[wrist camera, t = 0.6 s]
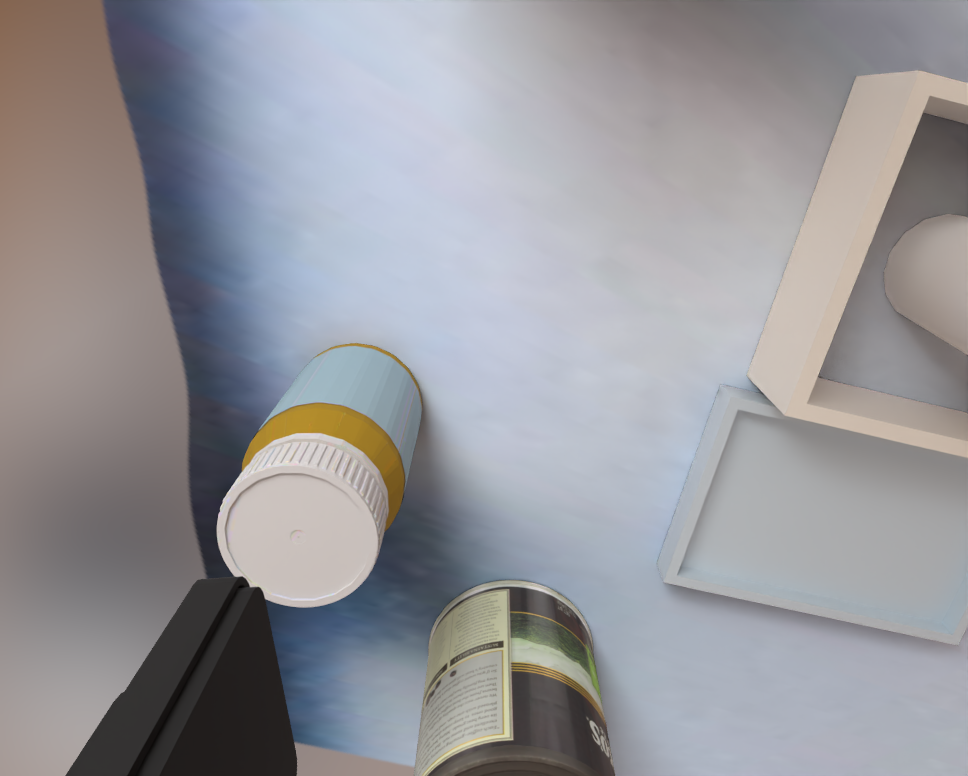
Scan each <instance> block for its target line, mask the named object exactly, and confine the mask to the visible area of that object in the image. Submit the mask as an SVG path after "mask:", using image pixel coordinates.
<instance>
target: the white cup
mask: <svg viewBox="0 0 968 776" xmlns="http://www.w3.org/2000/svg"><path fill="white" fill-rule="evenodd" d="M884 284H885V294H886V296H887V297H888V299H889V301H890V302H891V304H892V306H893V307H894V309H895V311H897V312H898V313H900V314H902V315H903V316H905V317H906V318H908V319H909V320H911V321H912V322H914V323H916V324H918V325H919V326H921V327H922V328H924V329H926V330H927V331H929V332H931V333H932V334H934V335H935V336H937V337H939V338H940V339H942V340H944V341H945V342H947V343H948V344H950V345H952V346H953V347H955V348H957V349H958V350H960V351H961V352H963V353H965V354H966V355H968V217H966V216H959V215H953V214H945V215H940V216H936V217H932V218H928V219H925V220H923V221H922V222H920V223H919V224H917V225H916V226H914V227H913V228H911V229H910V230H908V231H907V232H905V233H904V234H903V236H902V237H901V238H900V240H899V241H898V242H897V243H896V245H895V246H894V247H893V249H892V250H891V251H890V254H889V257H888V260H887V264H886V267H885V270H884Z"/></svg>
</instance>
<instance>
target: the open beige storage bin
mask: <svg viewBox="0 0 968 776" xmlns="http://www.w3.org/2000/svg"><path fill="white" fill-rule="evenodd" d="M923 113H927V114H930V115H934V116H938V117H942V118H946V119H950V120H953V121H957V122H961V123H965V124H968V83H965V82H961V81H958V80H954V79H950V78H946V77H943V76H939V75H935V74H931V73H927V72H924V71H920V70H918V71H907V72H896V73H885V74H874V75H863V76H856V78H855V81H854V84H853V86H852V89H851V92H850V95H849V97H848V100H847V103H846V106H845V108H844V111H843V114H842V116H841V119H840V122H839V125H838V127H837V130H836V133H835V136H834V138H833V141H832V144H831V146H830V149H829V152H828V155H827V157H826V160H825V163H824V166H823V168H822V171H821V174H820V176H819V179H818V182H817V185H816V187H815V190H814V193H813V195H812V198H811V201H810V204H809V206H808V209H807V212H806V215H805V217H804V220H803V223H802V225H801V228H800V231H799V234H798V236H797V239H796V242H795V245H794V247H793V250H792V253H791V255H790V258H789V261H788V264H787V266H786V269H785V272H784V275H783V277H782V280H781V283H780V285H779V288H778V291H777V294H776V296H775V299H774V302H773V304H772V307H771V310H770V313H769V315H768V318H767V321H766V324H765V326H764V329H763V332H762V334H761V337H760V340H759V343H758V345H757V348H756V351H755V354H754V356H753V359H752V362H751V364H750V367H749V370H748V373H747V375H746V376H747V377H748V378H749V379H750V380H751V381H752V382H753V383H754V384H755V385H756V386H757V387H758V388H759V389H760V390H761V391H762V392H763V393H764V394H765V395H766V396H767V398H768V399H769V400H770V401H771V402H772V403H773V404H774V405H775V406H776V407H777V408H778V409H779V410H780V411H781V412H782V413H783V414H784V415H785V416H789V417H793V418H798V419H802V420H806V421H811V422H815V423H819V424H823V425H828V426H832V427H836V428H841V429H845V430H849V431H854V432H858V433H862V434H867V435H871V436H875V437H880V438H884V439H888V440H892V441H897V442H901V443H905V444H910V445H914V446H918V447H923V448H927V449H931V450H936V451H940V452H944V453H949V454H953V455H957V456H962V457H966V458H968V413H966V412H962V411H958V410H954V409H949V408H945V407H941V406H937V405H932V404H928V403H924V402H920V401H915V400H911V399H907V398H903V397H898V396H894V395H890V394H886V393H882V392H877V391H873V390H869V389H865V388H860V387H856V386H852V385H848V384H843V383H839V382H835V381H831V380H826V379H822V378H818V374H819V372H820V369H821V367H822V364H823V362H824V359H825V357H826V354H827V352H828V349H829V347H830V344H831V342H832V339H833V337H834V334H835V332H836V329H837V327H838V324H839V322H840V319H841V317H842V314H843V312H844V309H845V307H846V304H847V302H848V299H849V297H850V294H851V292H852V289H853V287H854V284H855V282H856V279H857V277H858V274H859V272H860V269H861V267H862V264H863V262H864V259H865V257H866V254H867V252H868V249H869V247H870V244H871V242H872V239H873V236H874V234H875V231H876V229H877V226H878V224H879V221H880V219H881V216H882V214H883V211H884V209H885V206H886V204H887V201H888V199H889V196H890V194H891V191H892V189H893V186H894V184H895V181H896V179H897V176H898V174H899V171H900V169H901V166H902V164H903V161H904V159H905V156H906V154H907V151H908V149H909V146H910V144H911V141H912V139H913V136H914V134H915V131H916V129H917V126H918V124H919V121H920V119H921V116H922V114H923Z"/></svg>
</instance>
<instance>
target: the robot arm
mask: <svg viewBox="0 0 968 776" xmlns="http://www.w3.org/2000/svg"><path fill="white" fill-rule="evenodd" d="M296 774H297V757H296V750H295V745H294V740H293V735H292V730H291V725H290V720H289V715H288V710H287V705H286V700H285V695H284V690H283V685H282V681H281V676H280V671H279V666H278V661H277V656H276V651H275V646H274V641H273V636H272V631H271V626H270V621H269V616H268V611H267V606H266V601H265V597H264V593H263V591H262V589H261V588H260V587H250V585H249V583H248V581H247V579H246V578H244V577H243V576H240V577H226V578H212V579H201V580H197V581H196V583H195V584H194V585H193V586H192V588H191V590H190V591H189V593H188V594H187V596H186V597H185V599H184V600H183V602H182V603H181V605H180V606H179V608H178V610H177V611H176V613H175V615H174V616H173V617H172V619H171V620H170V622H169V624H168V625H167V627H166V628H165V630H164V631H163V633H162V635H161V636H160V638H159V639H158V641H157V642H156V644H155V646H154V647H153V648H152V650H151V652H150V653H149V655H148V656H147V658H146V659H145V661H144V662H143V664H142V666H141V667H140V668H139V670H138V672H137V673H136V675H135V676H134V678H133V679H132V681H131V682H130V684H129V686H128V687H127V689H126V690H125V692H123V693H121V694H120V695H119V697H118V698H117V699H116V700H115V701H114V702H113V704H112V705H111V707H110V708H109V710H108V711H107V713H106V715H105V716H104V718H103V719H102V721H101V722H100V724H99V725H98V727H97V729H96V730H95V731H94V733H93V734H92V736H91V738H90V739H89V740H88V742H87V743H86V745H85V747H84V748H83V750H82V751H81V753H80V754H79V756H78V758H77V759H76V761H75V762H74V763H73V765H72V767H71V768H70V770H69V771H68V773H67V774H66V776H296Z"/></svg>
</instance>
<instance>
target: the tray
mask: <svg viewBox="0 0 968 776" xmlns="http://www.w3.org/2000/svg"><path fill="white" fill-rule="evenodd" d="M657 566H658V569H659V572H660V575H661V577H662V580H663V583H668V584H673V585H677V586H682V587H687V588H691V589H696V590H701V591H705V592H710V593H715V594H719V595H724V596H729V597H733V598H738V599H743V600H747V601H752V602H757V603H761V604H766V605H771V606H775V607H780V608H785V609H789V610H794V611H799V612H803V613H808V614H813V615H817V616H822V617H827V618H831V619H836V620H840V621H845V622H850V623H854V624H859V625H864V626H868V627H873V628H878V629H882V630H887V631H892V632H896V633H901V634H906V635H910V636H915V637H920V638H924V639H929V640H934V641H938V642H943V643H948V644H952V645H957V646H958V645H959V643H960V641H961V639H962V637H963V635H964V633H965V631H966V629H967V627H968V458H966V457H962V456H957V455H953V454H949V453H944V452H940V451H936V450H931V449H927V448H923V447H918V446H914V445H910V444H905V443H901V442H897V441H892V440H888V439H884V438H880V437H875V436H871V435H867V434H862V433H858V432H854V431H849V430H845V429H841V428H836V427H832V426H828V425H823V424H819V423H815V422H811V421H806V420H802V419H798V418H793V417H789V416H785V415H784V414H783V413H782V412H781V411H780V410H779V409H778V408H777V407H776V406H775V405H774V404H773V403H772V402H771V401H770V400H769V399H768V398H767V396H766V395H765V394H761V393H757V392H752V391H748V390H744V389H740V388H735V387H731V386H727V385H722V384H720V387H719V390H718V393H717V396H716V398H715V401H714V404H713V407H712V410H711V412H710V415H709V418H708V421H707V424H706V426H705V429H704V432H703V435H702V438H701V440H700V443H699V446H698V449H697V452H696V454H695V457H694V460H693V463H692V466H691V468H690V471H689V474H688V477H687V480H686V482H685V485H684V488H683V491H682V494H681V497H680V499H679V502H678V505H677V508H676V511H675V513H674V516H673V519H672V522H671V525H670V527H669V530H668V533H667V536H666V539H665V541H664V544H663V547H662V550H661V553H660V555H659V558H658V561H657Z"/></svg>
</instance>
